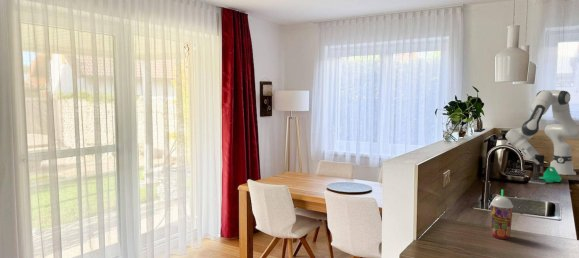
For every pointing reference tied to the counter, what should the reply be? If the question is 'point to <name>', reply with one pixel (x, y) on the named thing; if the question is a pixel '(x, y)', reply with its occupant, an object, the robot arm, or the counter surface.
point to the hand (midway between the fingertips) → (540, 163)
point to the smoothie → (501, 216)
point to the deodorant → (539, 166)
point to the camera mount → (551, 175)
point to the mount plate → (538, 181)
